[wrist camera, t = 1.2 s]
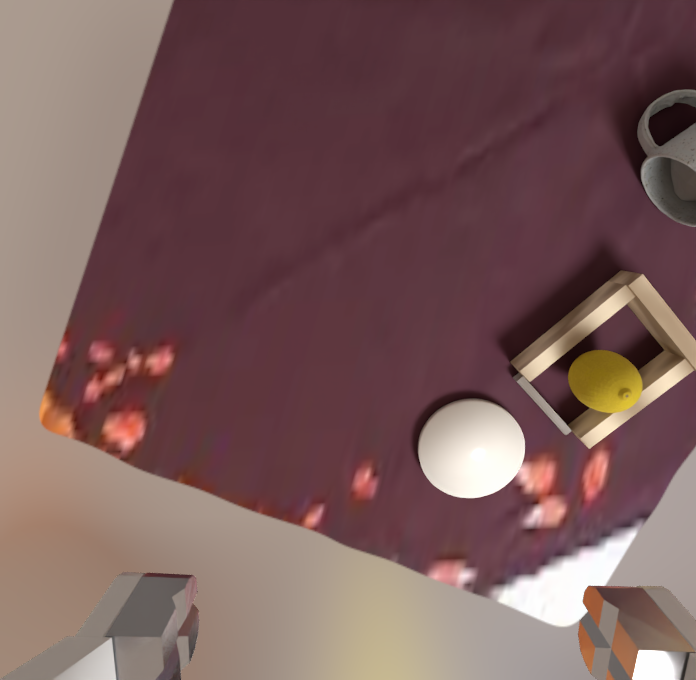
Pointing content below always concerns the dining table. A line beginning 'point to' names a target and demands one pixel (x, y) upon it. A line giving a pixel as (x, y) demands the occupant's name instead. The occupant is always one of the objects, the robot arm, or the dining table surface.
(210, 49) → the dining table surface
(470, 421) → the saucer
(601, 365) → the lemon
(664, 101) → the ceramic mug
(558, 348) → the wooden rectangular frame
